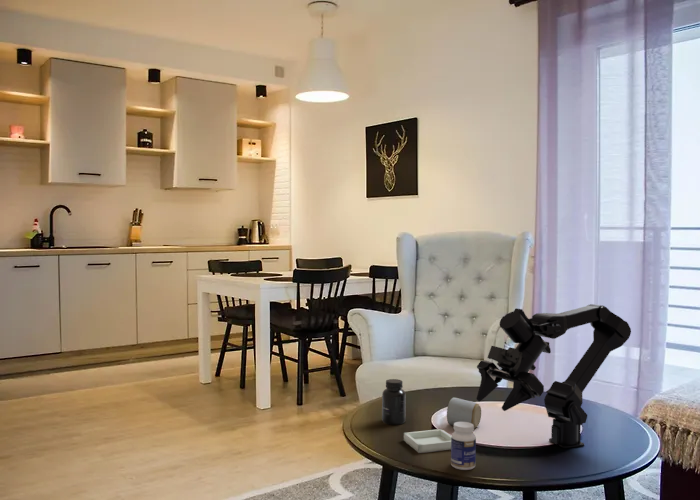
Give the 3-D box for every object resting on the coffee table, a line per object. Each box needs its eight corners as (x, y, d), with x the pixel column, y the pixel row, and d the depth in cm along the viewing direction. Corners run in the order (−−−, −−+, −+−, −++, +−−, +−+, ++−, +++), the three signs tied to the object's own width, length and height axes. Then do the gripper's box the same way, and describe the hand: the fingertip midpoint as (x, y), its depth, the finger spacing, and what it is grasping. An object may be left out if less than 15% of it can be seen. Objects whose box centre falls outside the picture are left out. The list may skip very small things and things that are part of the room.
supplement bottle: (378, 423, 180) (378, 382, 180) (386, 417, 186) (386, 377, 186) (401, 426, 177) (401, 384, 177) (408, 419, 184) (408, 379, 183)
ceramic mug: (473, 432, 172) (474, 404, 172) (445, 427, 176) (446, 400, 176) (485, 422, 182) (486, 396, 181) (459, 418, 186) (459, 392, 185)
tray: (441, 436, 169) (441, 428, 169) (458, 448, 159) (458, 440, 159) (403, 440, 165) (403, 432, 165) (418, 453, 156) (419, 445, 156)
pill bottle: (467, 472, 143) (468, 429, 143) (446, 466, 147) (446, 424, 147) (480, 465, 148) (480, 423, 147) (459, 459, 151) (459, 419, 151)
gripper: (482, 328, 161) (447, 376, 156) (535, 339, 144) (497, 393, 140) (506, 356, 165) (472, 403, 160) (559, 370, 148) (524, 423, 143)
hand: (490, 404), depth 151 cm, fingers open, 9 cm apart
